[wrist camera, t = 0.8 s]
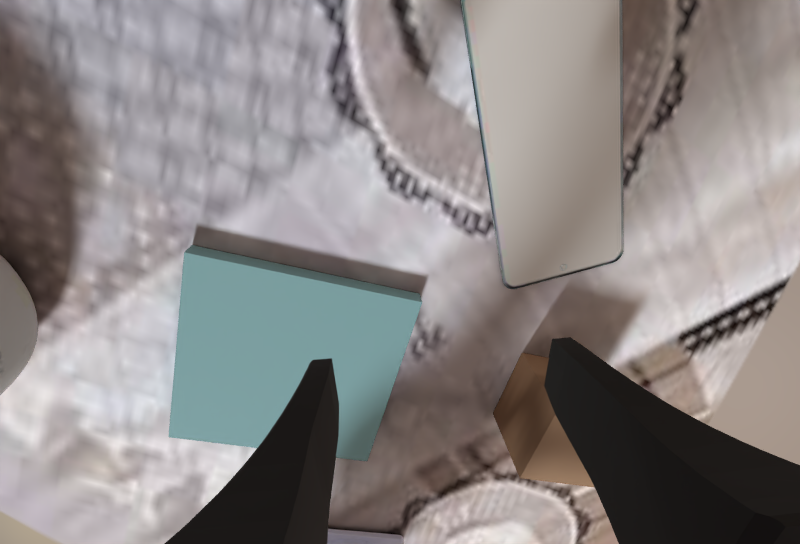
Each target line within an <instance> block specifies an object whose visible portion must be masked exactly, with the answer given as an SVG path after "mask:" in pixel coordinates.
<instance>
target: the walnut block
mask: <svg viewBox="0 0 800 544" xmlns="http://www.w3.org/2000/svg"><path fill="white" fill-rule="evenodd" d="M548 360H549V358H547V357H542V356H537V355H531V354H526V353H522V354H521V356H520V358H519V360H518V362H517V364H516V366H515V368H514V370H513V372H512V375H511V377H510V379H509V381H508V383H507V385H506V387H505V389H504V391H503V393H502V395H501V398H500V400H499V402H498V404H497V406H496V408H495V410H494V412H493V415H494V418H495V420H496V422H497V425H498V427H499V429H500V432H501V434H502V437H503V439H504V441H505V444H506V446H507V448H508V451H509V453H510V456H511V458H512V460H513V463H514V465H515V467H516V470H517V472H518V475H519V477H520V478H523V479H531V480H540V481H548V482H556V483H564V484H572V485H580V486H588V487H594V485H593V483H592V481H591V479H590V477H589V475H588V473H587V471H586V470H585V468H584V466H583V464H582V462H581V461H580V459H579V457H578V455H577V453H576V451H575V450H574V448H573V446H572V444H571V442H570V441H569V439H568V437H567V435H566V433H565V431H564V430H563V428H562V426H561V424H560V422H559V420H558V418H557V417H556V415H555V412H554V410H553V408H552V405H551V403H550V400H549V397H548V395H547V392H546V389H545V387H544V383H545V377H546V372H547V366H548Z"/></svg>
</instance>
